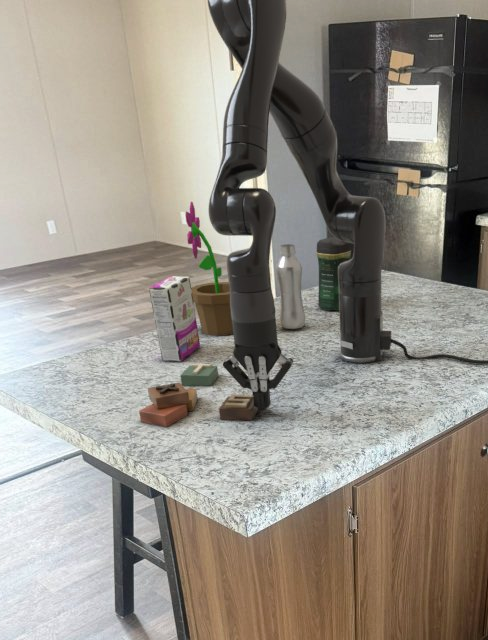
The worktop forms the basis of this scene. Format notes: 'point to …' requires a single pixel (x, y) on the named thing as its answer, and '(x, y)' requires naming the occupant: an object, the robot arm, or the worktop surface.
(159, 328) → the candy bar box
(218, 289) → the flowerpot
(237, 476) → the worktop surface
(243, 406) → the letter S
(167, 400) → the letter pile
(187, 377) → the letter T
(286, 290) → the silver metal bottle
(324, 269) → the coffee jar
